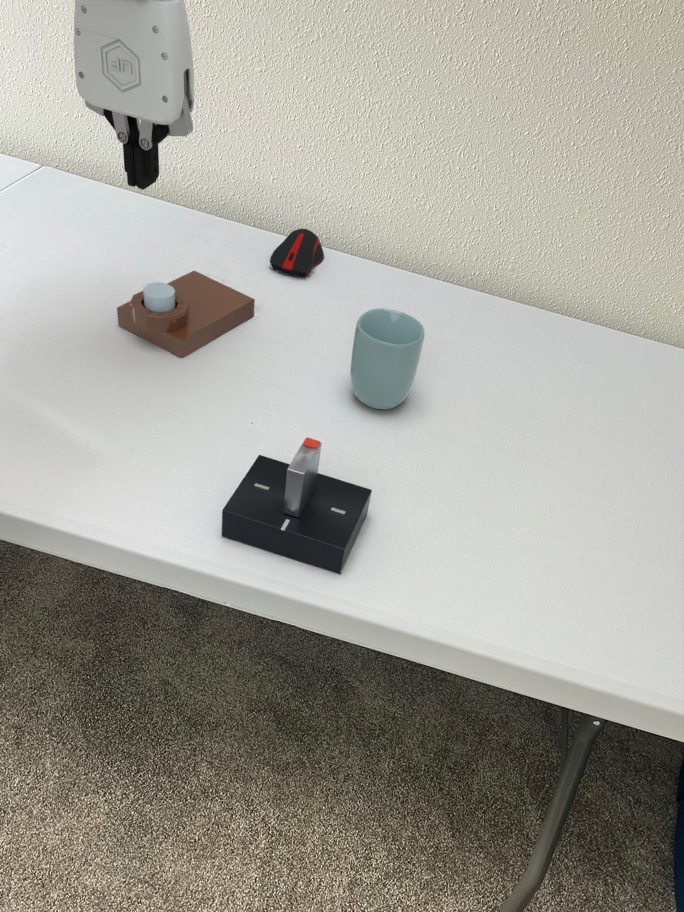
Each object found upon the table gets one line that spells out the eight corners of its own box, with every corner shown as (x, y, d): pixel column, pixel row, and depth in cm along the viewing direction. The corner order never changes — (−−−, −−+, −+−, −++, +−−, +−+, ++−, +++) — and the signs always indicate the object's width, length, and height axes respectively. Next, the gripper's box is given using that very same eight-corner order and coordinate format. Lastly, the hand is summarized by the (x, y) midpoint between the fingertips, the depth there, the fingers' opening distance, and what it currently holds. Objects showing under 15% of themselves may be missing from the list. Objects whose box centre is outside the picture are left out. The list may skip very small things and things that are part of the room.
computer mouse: (264, 271, 112) (266, 244, 109) (289, 241, 120) (291, 215, 117) (306, 282, 112) (309, 256, 109) (328, 252, 120) (331, 227, 117)
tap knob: (298, 518, 73) (304, 472, 69) (282, 513, 73) (287, 466, 69) (316, 485, 77) (322, 440, 73) (300, 481, 77) (306, 435, 73)
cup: (419, 395, 97) (435, 324, 90) (392, 426, 92) (408, 353, 85) (364, 372, 99) (376, 300, 92) (334, 401, 93) (345, 327, 86)
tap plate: (221, 537, 75) (221, 509, 72) (258, 479, 81) (259, 452, 79) (339, 575, 74) (344, 548, 71) (367, 514, 81) (372, 487, 78)
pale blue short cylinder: (161, 316, 92) (160, 301, 90) (137, 305, 93) (136, 289, 91) (181, 306, 94) (181, 290, 93) (158, 294, 95) (157, 279, 94)
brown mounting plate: (174, 362, 93) (173, 329, 90) (110, 329, 95) (107, 295, 92) (254, 316, 103) (255, 284, 100) (194, 287, 106) (193, 255, 103)
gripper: (26, -49, 66) (54, 175, 78) (193, -2, 65) (194, 216, 77) (75, -58, 71) (94, 153, 84) (230, -15, 70) (225, 191, 83)
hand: (142, 183), depth 80 cm, fingers closed
